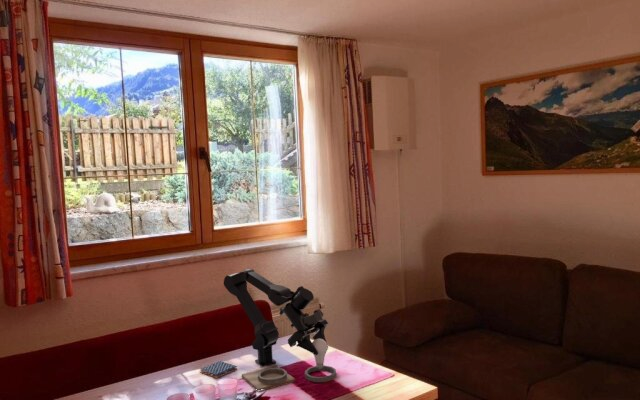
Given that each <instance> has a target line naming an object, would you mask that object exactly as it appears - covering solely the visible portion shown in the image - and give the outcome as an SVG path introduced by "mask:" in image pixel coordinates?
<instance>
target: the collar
mask: <svg viewBox="0 0 640 400" xmlns="http://www.w3.org/2000/svg"><path fill="white" fill-rule="evenodd" d="M317 371H326V372H330V373H331V374H328V375H325V376H313V375H310V374H311V373H313V372H317ZM336 377H337V369H336V368H334V367H333V366H329V365H324V364H323V368H321V369H319V368H317V366H316V365H315V366H311V367H308V368H307V369H305V371H304V378H305V379H306V380H307V381H308V382H313V383H326V382H328V381H329V382H330V381H332V380H334V379H335V378H336Z"/></svg>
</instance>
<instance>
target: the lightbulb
mask: <svg viewBox="0 0 640 400" xmlns="http://www.w3.org/2000/svg"><path fill="white" fill-rule="evenodd" d="M311 342H312V344H313V345H314V347H315V348H316V350H317V351H318V355H315V354H313V356H314V360H315V363H316V365H315V366H317V368H319V369H321V368H323V365H324V362H325V357H326V354H327V352H328V350H329V345H328V342H327V340H326V341H325V340H323V339H316V340H314V339H313V341H311ZM326 342H327V343H326Z"/></svg>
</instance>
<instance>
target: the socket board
mask: <svg viewBox="0 0 640 400" xmlns="http://www.w3.org/2000/svg"><path fill="white" fill-rule="evenodd" d="M241 378H242V379H244V380H245V382H246V383H248V384H249V385H250V386H251V387H252V388H253V387H254V388H253V389H254V390H256V389H257V390H261V389H266V390H270V389H273V388H276V387H279V386H280V387H281V386H283V385H284V386H285V385H287V384H291V383H294V382H296V379H295V377H293V376H292V375H290V374H289V373H288V372H287V370H285V369H284V368H281V367H279V366H278V365H273V366H270V367H265V368H262V369H257V370H253V371H250V372H246V373H242V374H241ZM257 390H256V391H257Z"/></svg>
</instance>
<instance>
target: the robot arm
mask: <svg viewBox="0 0 640 400" xmlns="http://www.w3.org/2000/svg"><path fill="white" fill-rule="evenodd" d="M248 283H249V285H252V286H253V287H255V288H257V289H258V290H259V291H261V292H262V293H264V294H265V295H266V296H267V298H268V300H269V301H270V302H271V303H272V304H273V305H274V306H277V307H279V306H282V305H284V306H282V307H280V308H279V310H280V311H279V316H283V315H285V316H286V317H287V319H288V321H290V323H291V324H290V327H291V328H295V329H296V331H295V332H293V333H292V335H290V336H289V338H288V339H287V344H288V345H289V346H290V347H289V348H293V347H299V348H301V349H304V350H306V351H307V352H309V353H311V354H313V355H314V354H315V355H318V351H317V350H316V348H315V347H314V345H313V344H312V342H313V341H314V340H316V339H323V340H325V341H326V343H327V344H328V342H327V339H326V337H325V330H326V327H327V326H328V325H329V322H328V321H327V320H326V319H324V318H323V317H324V312H323V311H322V310H321V309H320V308H318V309H316V310H313V313H312V314H310V315H309V313H307V312H305V313H304V312H303V310H305V309H306V308H307V307H308V306H309V304H310V303H311V302H313V300H314V293H313V292H312V291H311V290H309V289H308V288H305V287H304V286H302V285H301V286H299V287H297V288H296V290H295V291H293V290H291V289H290V288H289V287H287V286H284V285H280V284H275V283H273V282H272V281H270V280H268V279H267V278H265V277H264V276H263V275H260V274H259V273H258V272H256V271H255V269H253V268H248V269H243V270H242V271H240V272H236V273H231V274H227V275H226V276H225V277H224V279H223V286H224V288H225V289H226V290H227V292H229V293H230V294H231V295H232V296H235V298H237V300H238V302H239V303H240V305H241V307H242V309H243V310H244V312H245V313H246V314H245V315H247V317H248V318H249V320H250V322H251V323H252V326H253V327H254V336H255V339H254V341H253V342H252V343H251V346H252V349H253V350H256V351H257V359H255V360H254V362H255V363H256V364H258V365H259V366H260V367H264V366H267V365H268V366H269V365H271V364H275V363H277V360H275V359H274V358H273V346H276V345H277V342H278V339H279V336H280V334H279V333H280V332H279V331H278V330H279V329H278V327H277V326H276V325H275V322H274V321H273V320H270V321H268V320H267V319H266V318H265V316H264V315H263V314H262V311H261V310H260V308H259V307H258V305H257V304H256V302H255V300H254V299H253V298H252V296H251V294H250V293H249V291H248ZM311 335H313V337H312V339H313V341H312V340H311Z"/></svg>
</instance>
